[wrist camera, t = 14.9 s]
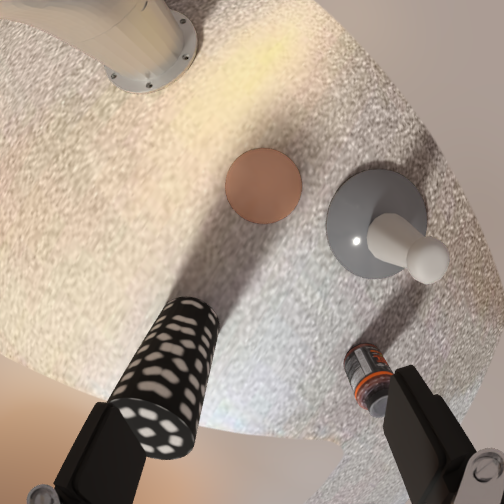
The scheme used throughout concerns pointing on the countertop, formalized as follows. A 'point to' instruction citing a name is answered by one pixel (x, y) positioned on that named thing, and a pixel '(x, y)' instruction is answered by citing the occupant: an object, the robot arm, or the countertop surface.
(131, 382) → the spotted tube
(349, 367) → the supplement bottle
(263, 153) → the terracotta spot
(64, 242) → the countertop surface
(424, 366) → the countertop surface
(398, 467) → the robot arm
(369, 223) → the slate plate
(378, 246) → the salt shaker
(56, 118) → the countertop surface
